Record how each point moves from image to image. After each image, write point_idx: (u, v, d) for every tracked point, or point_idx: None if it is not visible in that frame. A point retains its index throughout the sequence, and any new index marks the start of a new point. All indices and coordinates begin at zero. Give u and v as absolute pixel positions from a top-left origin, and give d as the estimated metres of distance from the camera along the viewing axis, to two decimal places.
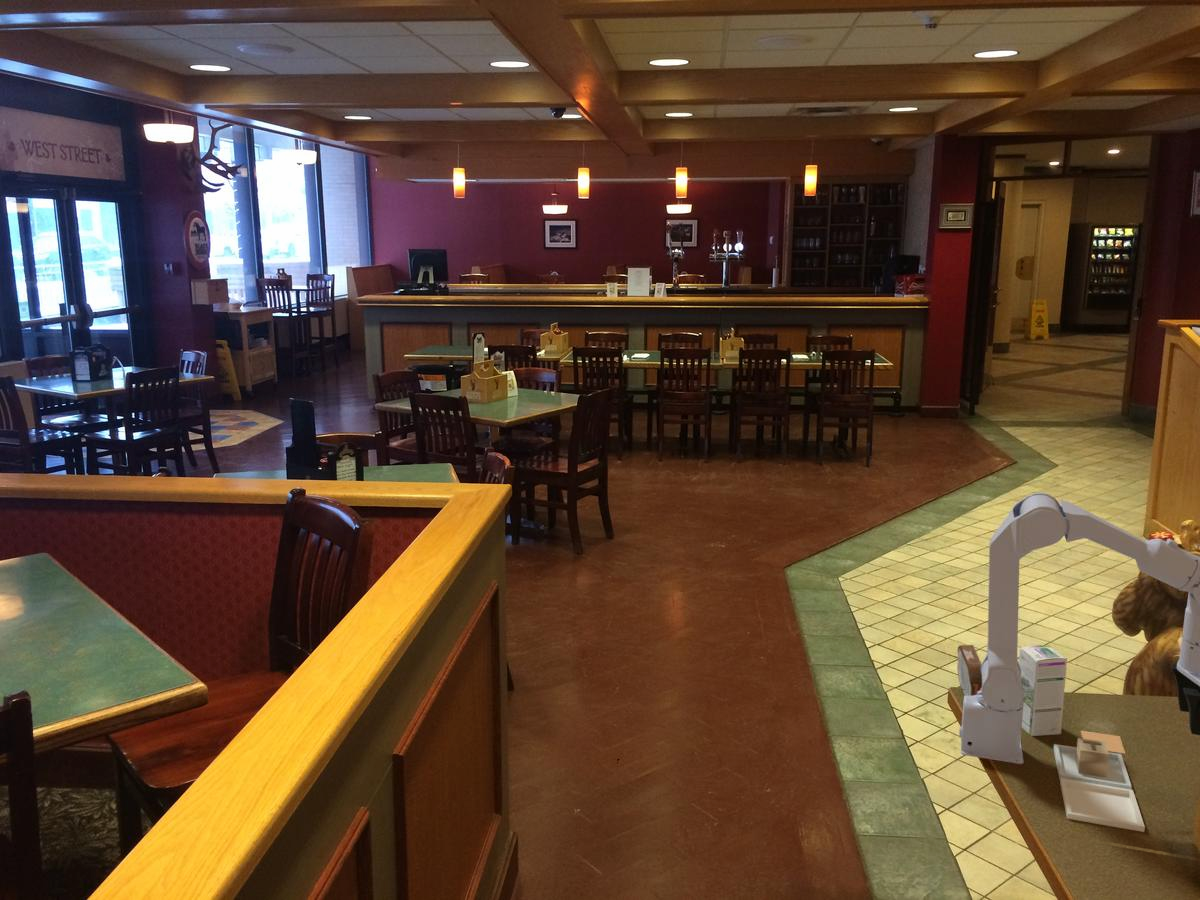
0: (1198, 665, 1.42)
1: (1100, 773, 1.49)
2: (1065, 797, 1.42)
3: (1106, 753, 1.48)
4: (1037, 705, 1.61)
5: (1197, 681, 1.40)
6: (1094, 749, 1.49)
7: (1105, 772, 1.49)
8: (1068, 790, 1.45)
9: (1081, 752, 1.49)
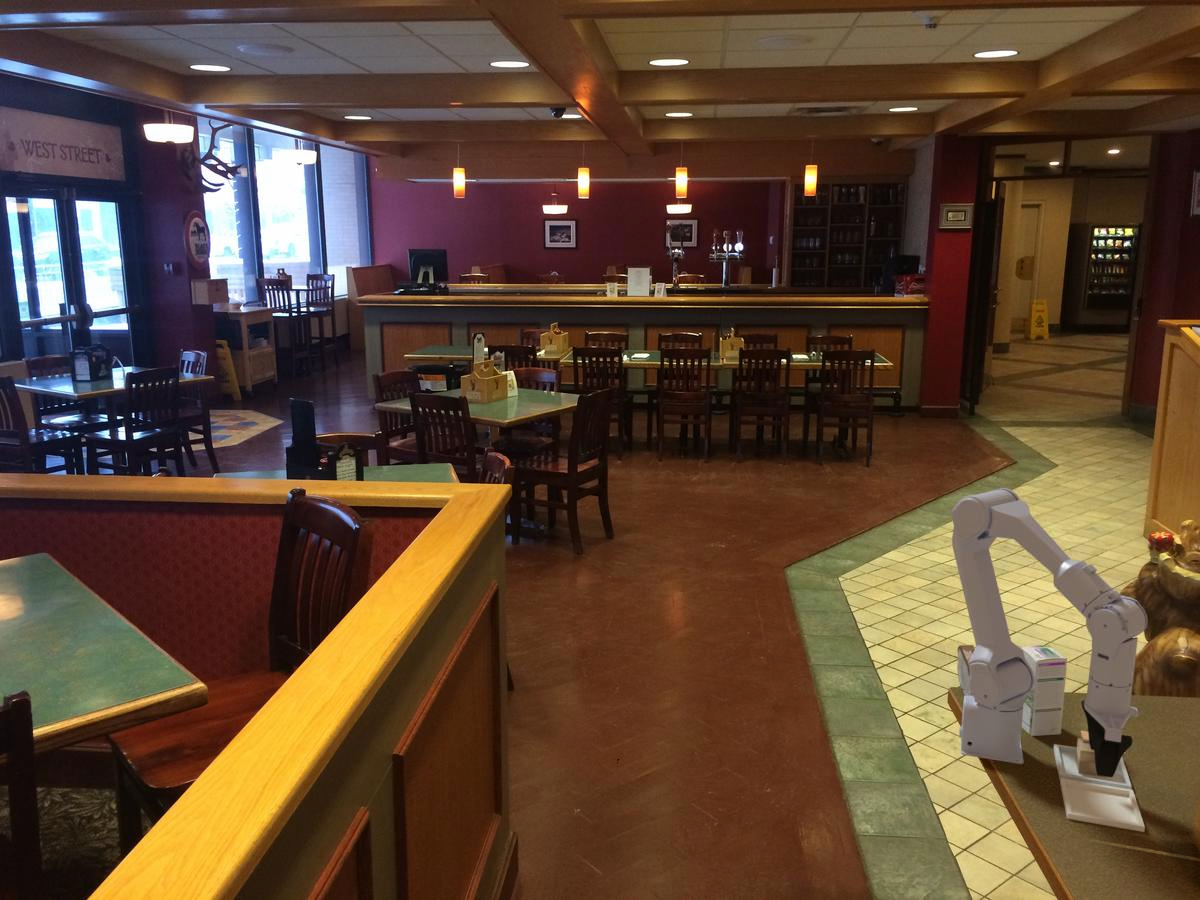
0: (1103, 704, 1.38)
1: None
2: (1065, 797, 1.42)
3: None
4: (1037, 705, 1.61)
5: (1101, 722, 1.36)
6: None
7: None
8: (1068, 790, 1.45)
9: (1081, 752, 1.49)
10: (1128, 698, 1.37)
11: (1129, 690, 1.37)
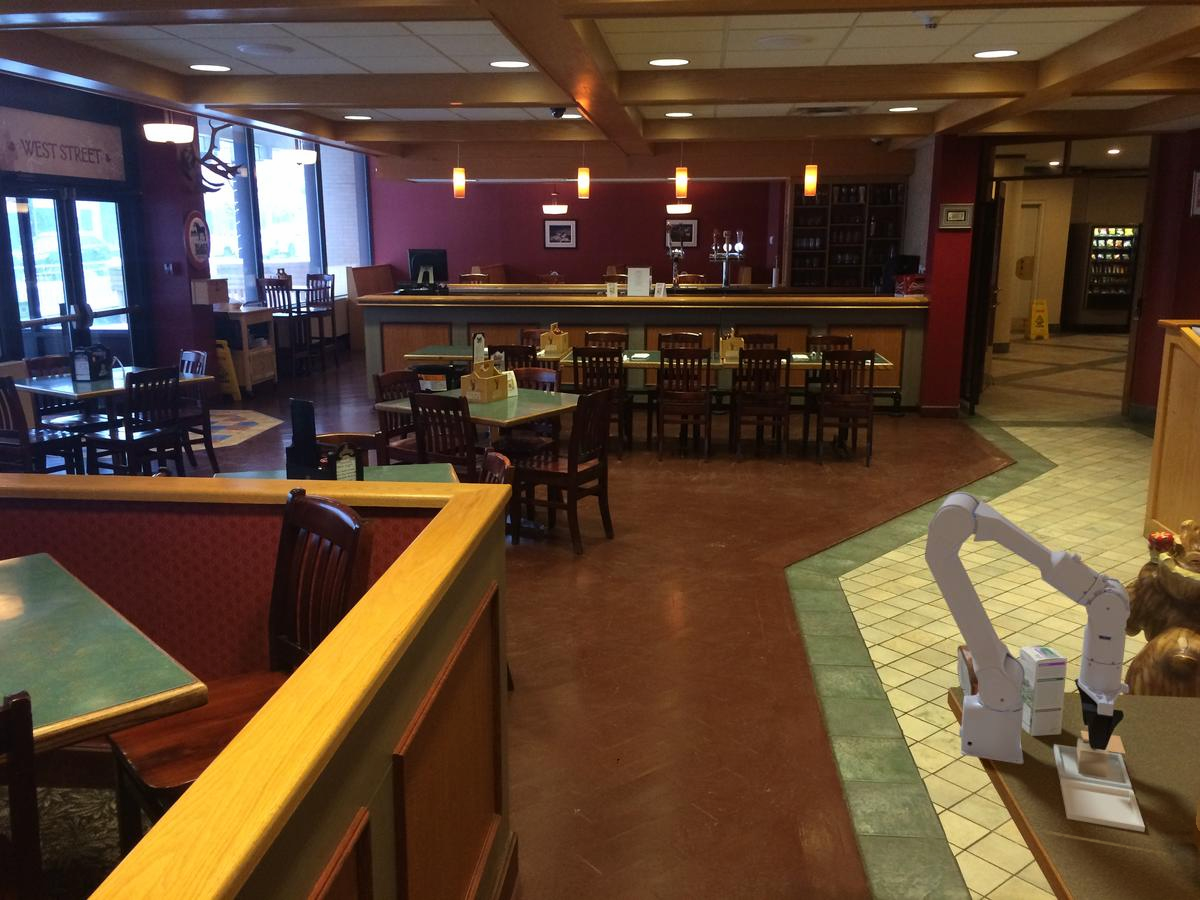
0: (1096, 681, 1.46)
1: (1100, 773, 1.49)
2: (1065, 797, 1.42)
3: (1106, 753, 1.48)
4: (1037, 706, 1.61)
5: (1094, 697, 1.44)
6: (1094, 749, 1.49)
7: (1105, 772, 1.49)
8: (1068, 790, 1.45)
9: (1081, 752, 1.49)
10: (1119, 675, 1.45)
11: (1120, 667, 1.45)
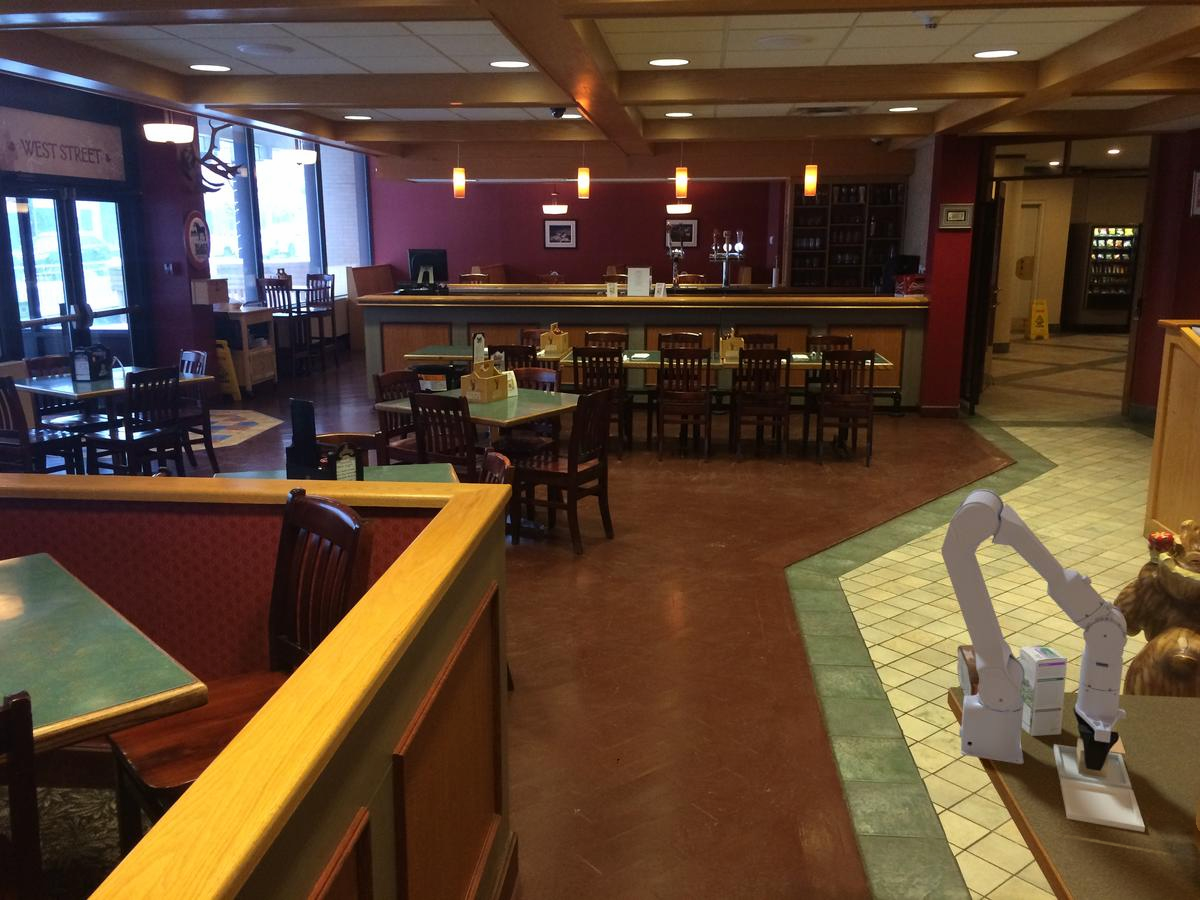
0: (1093, 707, 1.47)
1: (1100, 773, 1.49)
2: (1065, 797, 1.42)
3: None
4: (1037, 705, 1.61)
5: (1091, 723, 1.45)
6: None
7: (1105, 772, 1.49)
8: (1068, 790, 1.45)
9: (1081, 752, 1.49)
10: (1116, 701, 1.46)
11: (1117, 693, 1.46)
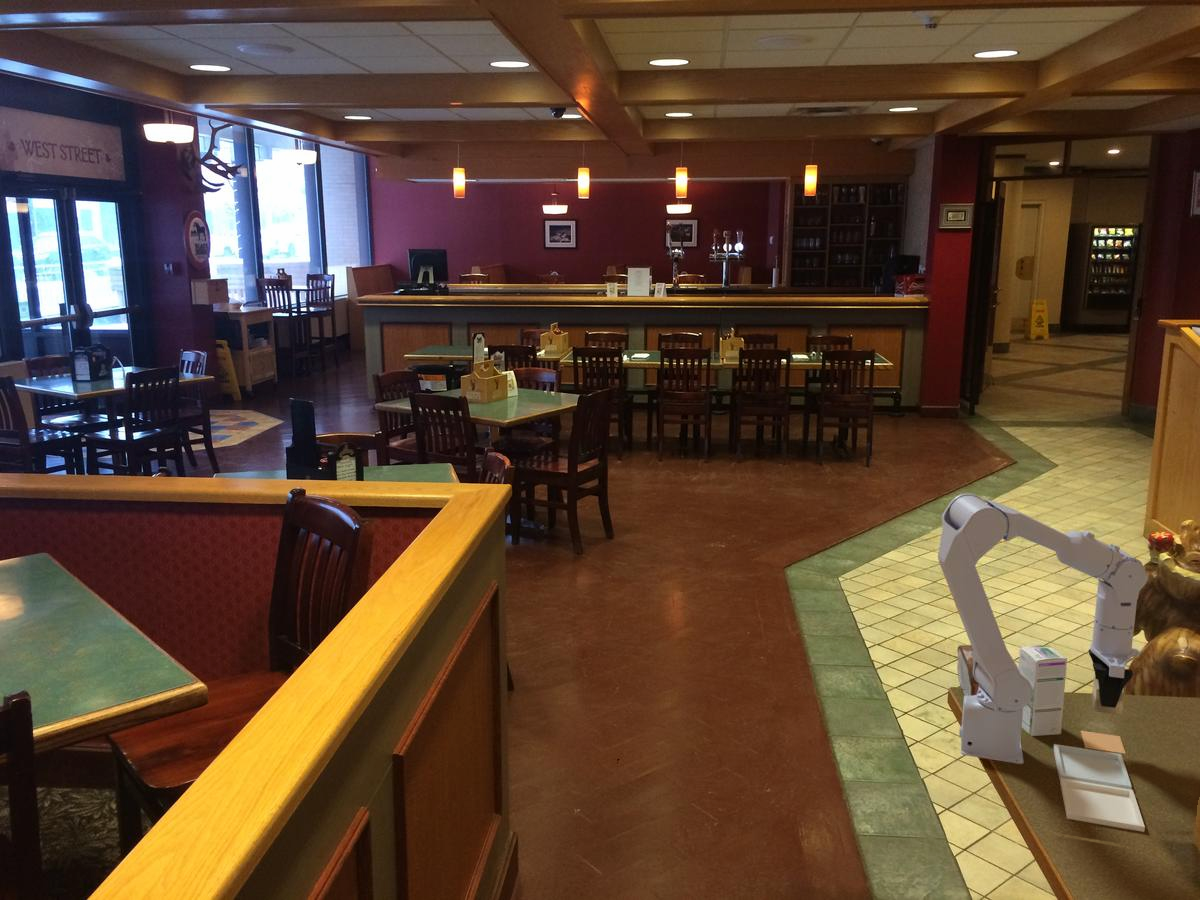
0: (1108, 646, 1.52)
1: (1116, 711, 1.54)
2: (1065, 797, 1.42)
3: None
4: (1037, 706, 1.61)
5: (1105, 661, 1.50)
6: None
7: (1120, 710, 1.54)
8: (1068, 790, 1.45)
9: (1097, 691, 1.54)
10: (1130, 640, 1.51)
11: (1131, 632, 1.51)
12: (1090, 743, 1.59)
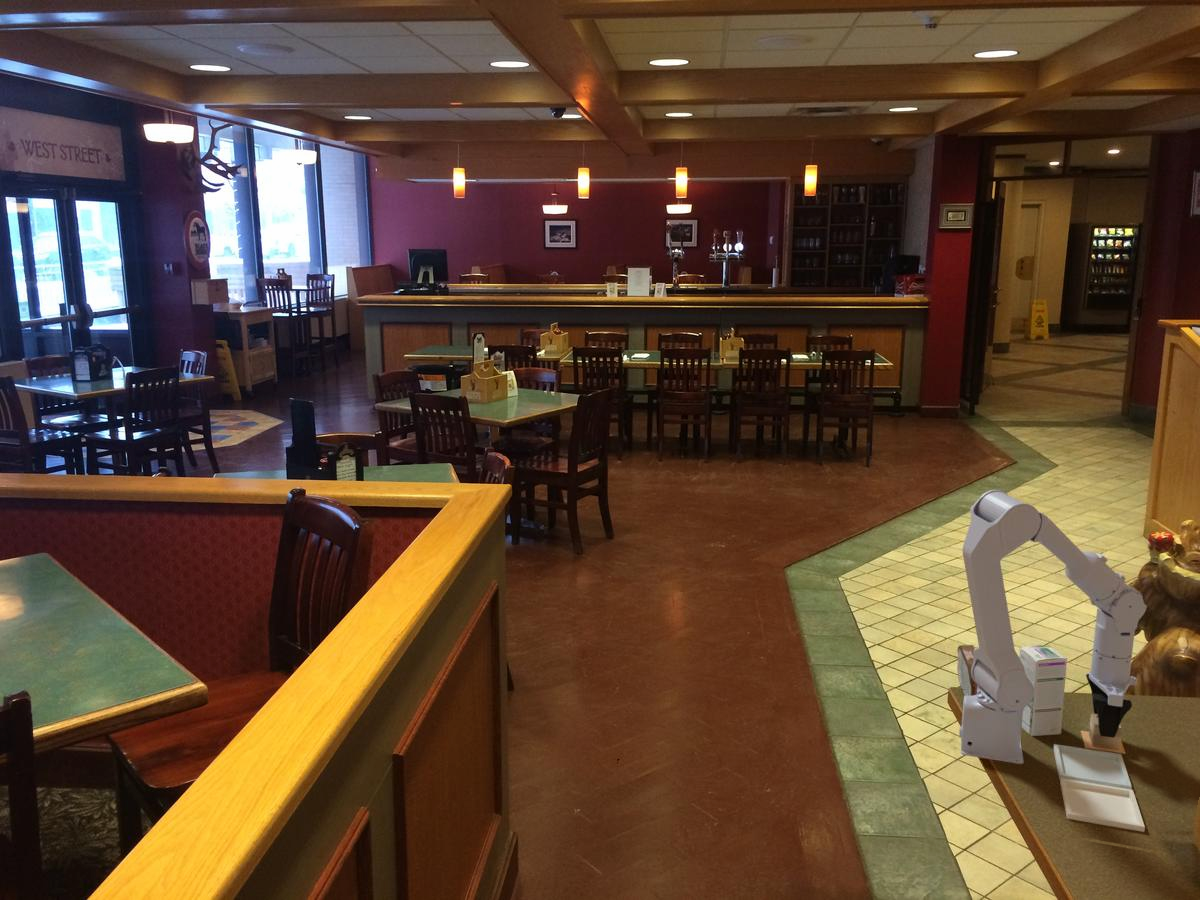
0: (1106, 674, 1.54)
1: (1113, 746, 1.57)
2: (1065, 797, 1.42)
3: (1119, 727, 1.56)
4: (1037, 705, 1.61)
5: (1104, 689, 1.53)
6: None
7: (1118, 745, 1.57)
8: (1068, 790, 1.45)
9: (1095, 726, 1.57)
10: (1128, 668, 1.54)
11: (1129, 661, 1.54)
12: (1090, 743, 1.59)
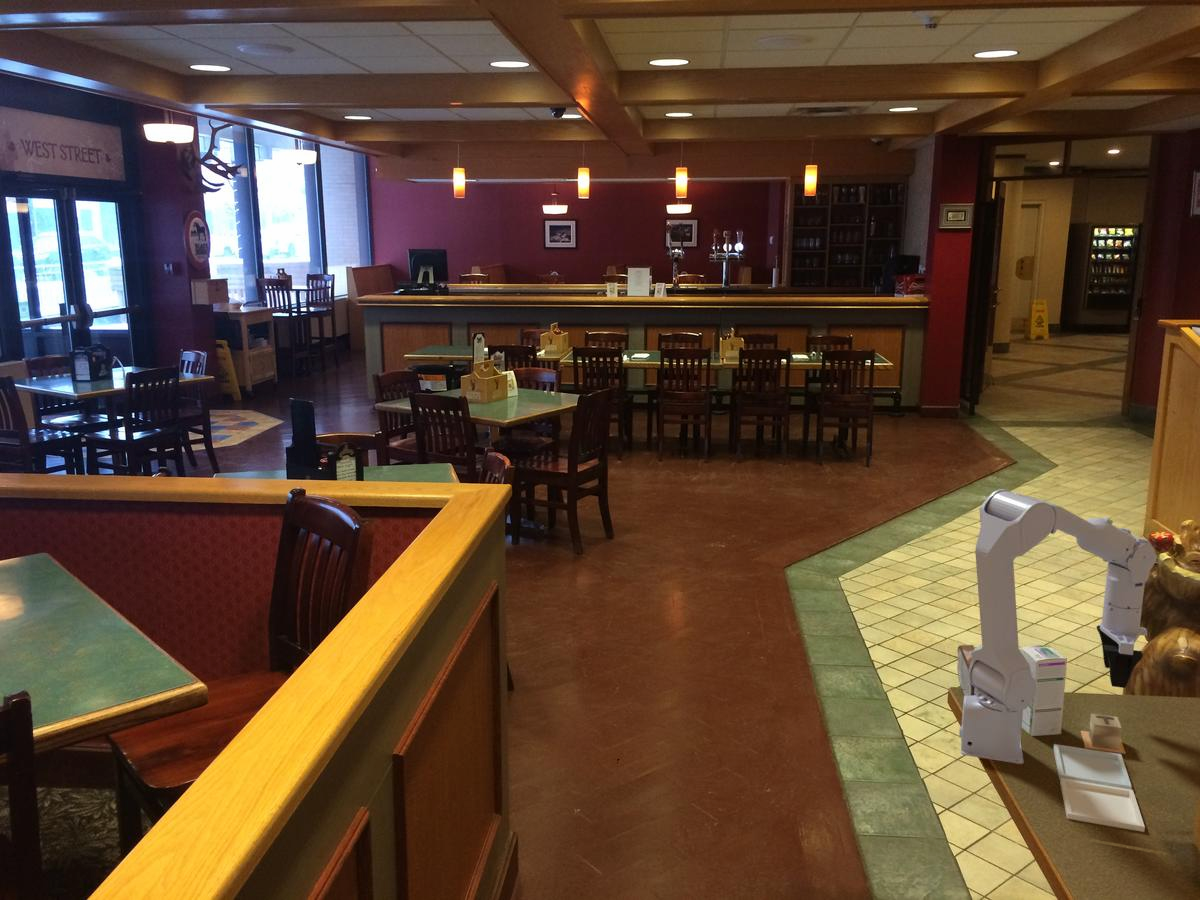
0: (1117, 624, 1.59)
1: (1113, 746, 1.57)
2: (1065, 797, 1.42)
3: (1119, 727, 1.56)
4: (1037, 706, 1.61)
5: (1115, 639, 1.57)
6: (1107, 723, 1.57)
7: (1118, 745, 1.57)
8: (1068, 790, 1.45)
9: (1095, 726, 1.57)
10: (1138, 619, 1.58)
11: (1139, 611, 1.58)
12: (1090, 743, 1.59)
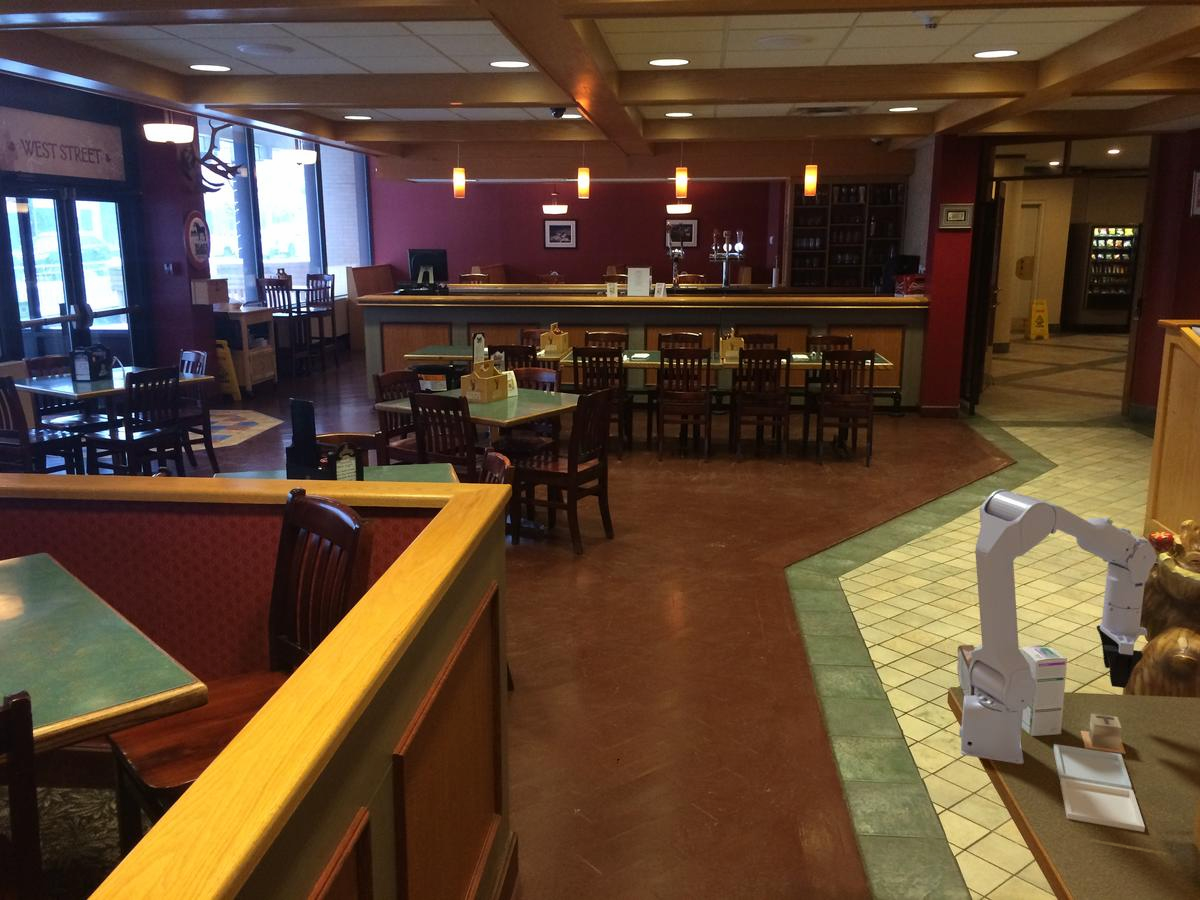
0: (1117, 624, 1.59)
1: (1113, 746, 1.57)
2: (1065, 797, 1.42)
3: (1119, 727, 1.56)
4: (1037, 706, 1.61)
5: (1115, 639, 1.57)
6: (1107, 723, 1.57)
7: (1118, 745, 1.57)
8: (1068, 790, 1.45)
9: (1095, 726, 1.57)
10: (1138, 619, 1.58)
11: (1139, 611, 1.58)
12: (1090, 743, 1.59)
